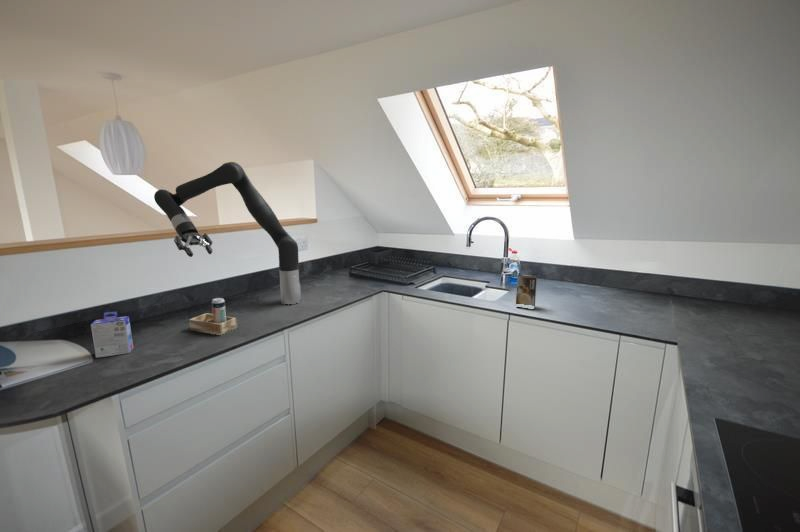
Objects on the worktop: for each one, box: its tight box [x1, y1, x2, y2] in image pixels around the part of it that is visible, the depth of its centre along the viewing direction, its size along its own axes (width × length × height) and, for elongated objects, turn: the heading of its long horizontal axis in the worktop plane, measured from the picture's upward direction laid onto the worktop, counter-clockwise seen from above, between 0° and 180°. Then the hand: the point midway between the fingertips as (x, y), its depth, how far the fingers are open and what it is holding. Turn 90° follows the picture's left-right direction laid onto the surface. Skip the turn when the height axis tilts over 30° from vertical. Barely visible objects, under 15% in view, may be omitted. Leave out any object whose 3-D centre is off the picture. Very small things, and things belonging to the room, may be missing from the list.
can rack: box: [188, 312, 238, 336], centre depth 150 cm, size 9×16×4 cm, turn 70°
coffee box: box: [515, 273, 538, 307], centre depth 181 cm, size 9×6×16 cm
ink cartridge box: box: [90, 310, 134, 358], centre depth 127 cm, size 10×6×14 cm, turn 115°
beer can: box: [211, 297, 227, 324], centre depth 148 cm, size 5×5×12 cm
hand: (201, 254), depth 160 cm, fingers open, 8 cm apart
